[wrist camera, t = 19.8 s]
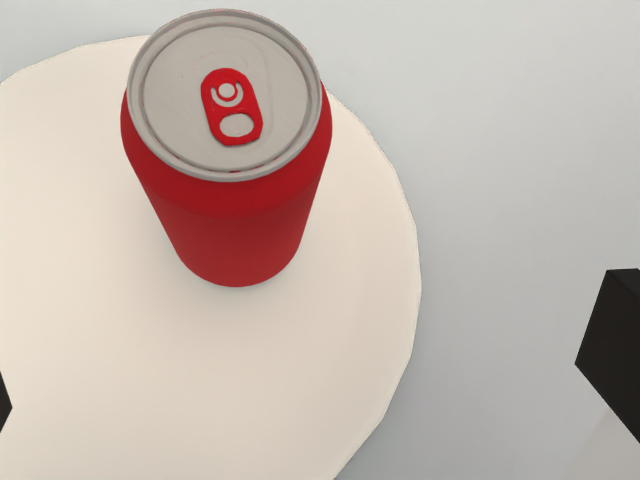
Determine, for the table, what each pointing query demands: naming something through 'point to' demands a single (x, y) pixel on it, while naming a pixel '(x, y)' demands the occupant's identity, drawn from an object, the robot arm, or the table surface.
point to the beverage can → (227, 140)
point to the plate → (184, 304)
